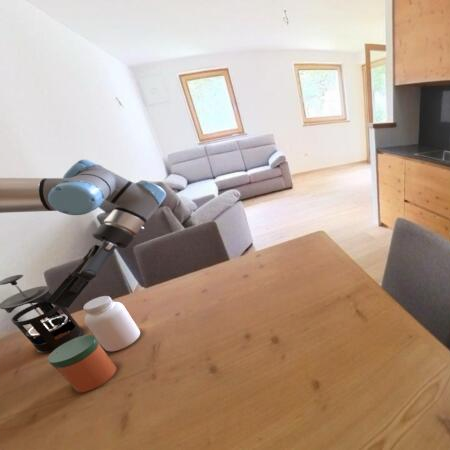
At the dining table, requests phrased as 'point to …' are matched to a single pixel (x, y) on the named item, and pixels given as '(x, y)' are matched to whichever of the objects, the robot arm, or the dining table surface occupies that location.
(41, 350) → the french press
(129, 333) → the pill bottle
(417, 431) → the dining table surface
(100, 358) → the jar
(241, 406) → the dining table surface
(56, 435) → the dining table surface
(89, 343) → the jar lid
